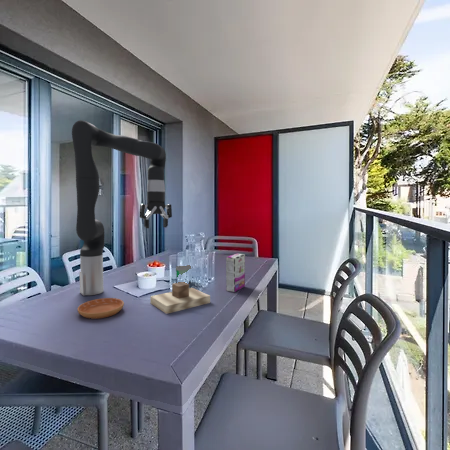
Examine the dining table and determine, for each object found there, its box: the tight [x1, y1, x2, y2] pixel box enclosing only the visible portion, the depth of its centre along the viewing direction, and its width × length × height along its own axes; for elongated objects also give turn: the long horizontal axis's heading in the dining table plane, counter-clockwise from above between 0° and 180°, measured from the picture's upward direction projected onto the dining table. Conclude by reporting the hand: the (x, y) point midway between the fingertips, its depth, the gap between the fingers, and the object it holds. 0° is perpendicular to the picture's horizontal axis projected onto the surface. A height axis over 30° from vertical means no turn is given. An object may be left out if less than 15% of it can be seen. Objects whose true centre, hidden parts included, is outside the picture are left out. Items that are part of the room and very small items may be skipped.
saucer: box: [77, 297, 125, 320], centre depth 108 cm, size 16×16×3 cm
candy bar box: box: [225, 253, 246, 293], centre depth 139 cm, size 11×5×16 cm, turn 150°
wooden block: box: [150, 287, 211, 315], centre depth 118 cm, size 20×14×3 cm
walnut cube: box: [171, 282, 190, 299], centre depth 118 cm, size 5×5×5 cm
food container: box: [175, 265, 192, 278], centre depth 147 cm, size 12×6×10 cm, turn 168°
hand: (156, 227), depth 127 cm, fingers open, 8 cm apart
